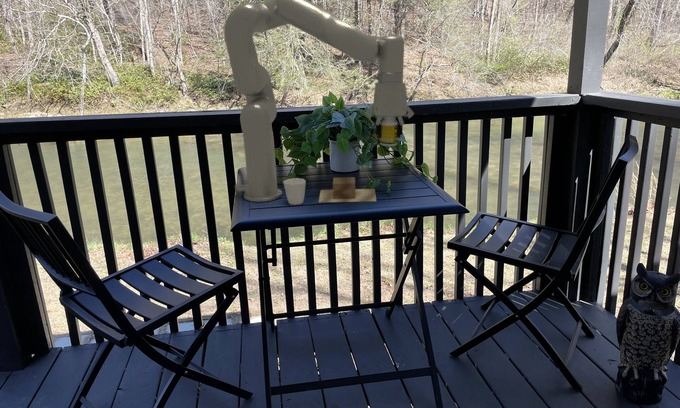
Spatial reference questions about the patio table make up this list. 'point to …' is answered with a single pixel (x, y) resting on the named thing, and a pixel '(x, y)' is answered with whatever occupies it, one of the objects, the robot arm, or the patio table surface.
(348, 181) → the block
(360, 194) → the board
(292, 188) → the cup
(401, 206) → the patio table surface
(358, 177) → the patio table surface
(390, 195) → the patio table surface
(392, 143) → the supplement bottle
